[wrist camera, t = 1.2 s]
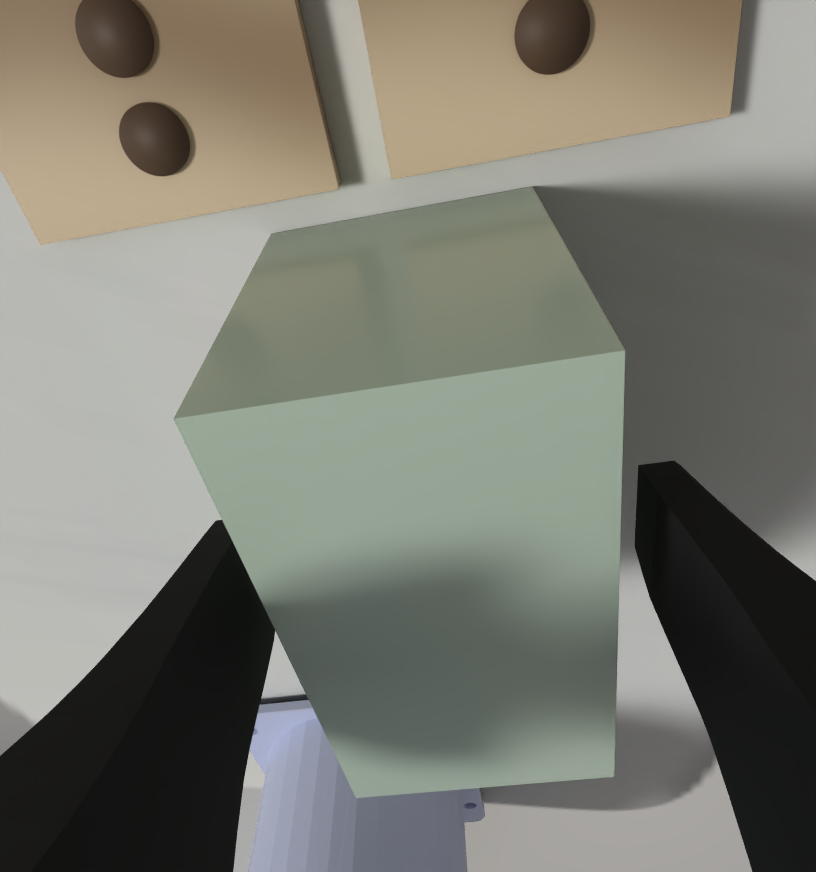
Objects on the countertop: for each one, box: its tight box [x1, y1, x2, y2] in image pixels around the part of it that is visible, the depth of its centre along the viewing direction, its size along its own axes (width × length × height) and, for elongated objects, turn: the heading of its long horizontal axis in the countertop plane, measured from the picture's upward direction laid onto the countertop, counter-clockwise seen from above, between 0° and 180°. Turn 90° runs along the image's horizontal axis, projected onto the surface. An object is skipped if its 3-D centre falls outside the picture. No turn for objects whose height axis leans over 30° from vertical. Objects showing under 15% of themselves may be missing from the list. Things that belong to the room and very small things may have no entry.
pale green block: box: [174, 187, 625, 798], centre depth 13 cm, size 10×5×6 cm, turn 10°
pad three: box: [0, 0, 341, 245], centre depth 11 cm, size 6×6×1 cm
